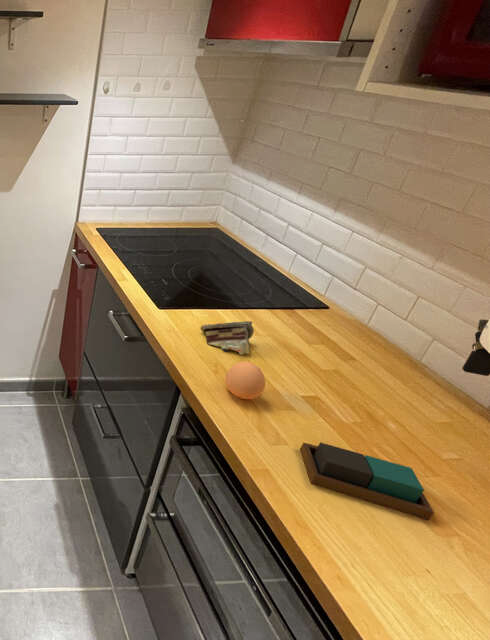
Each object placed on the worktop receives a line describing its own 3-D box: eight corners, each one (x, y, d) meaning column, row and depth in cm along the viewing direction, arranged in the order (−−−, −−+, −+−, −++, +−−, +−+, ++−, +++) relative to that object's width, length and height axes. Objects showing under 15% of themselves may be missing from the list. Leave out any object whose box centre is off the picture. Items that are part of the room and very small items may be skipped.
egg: (219, 379, 104) (229, 350, 101) (256, 389, 101) (267, 359, 98) (222, 400, 98) (233, 370, 94) (261, 411, 95) (273, 380, 92)
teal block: (401, 483, 80) (411, 467, 78) (413, 505, 76) (424, 490, 74) (356, 470, 82) (365, 454, 80) (366, 491, 78) (375, 475, 76)
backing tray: (407, 480, 81) (412, 473, 80) (428, 520, 74) (434, 512, 73) (299, 449, 86) (303, 442, 86) (310, 483, 80) (314, 476, 79)
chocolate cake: (197, 347, 116) (245, 333, 107) (197, 326, 120) (242, 312, 112) (220, 368, 118) (268, 357, 109) (218, 347, 122) (264, 334, 114)
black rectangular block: (354, 469, 82) (363, 454, 80) (364, 490, 78) (373, 475, 76) (312, 457, 84) (320, 442, 83) (319, 477, 80) (327, 461, 79)
